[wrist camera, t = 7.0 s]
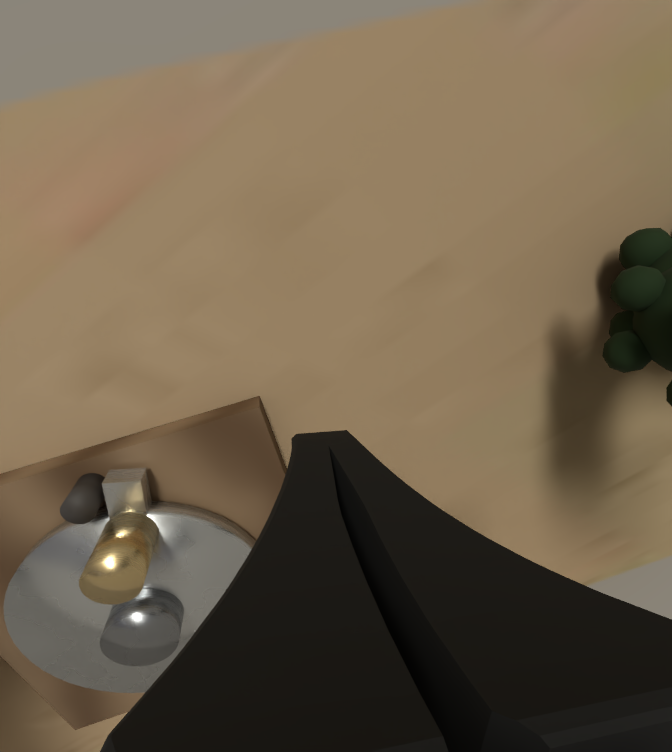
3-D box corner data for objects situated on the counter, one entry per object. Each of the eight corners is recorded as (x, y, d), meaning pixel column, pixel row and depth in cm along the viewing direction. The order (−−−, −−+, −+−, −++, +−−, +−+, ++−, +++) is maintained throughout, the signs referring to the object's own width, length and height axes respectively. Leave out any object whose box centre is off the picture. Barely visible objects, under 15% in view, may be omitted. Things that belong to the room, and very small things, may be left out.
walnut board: (82, 708, 26) (62, 765, 24) (-110, 507, 19) (-171, 557, 16) (342, 619, 28) (351, 665, 25) (259, 396, 20) (259, 426, 17)
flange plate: (274, 656, 26) (277, 726, 22) (48, 690, 23) (11, 774, 20) (269, 459, 20) (271, 512, 16) (-32, 479, 18) (-104, 546, 14)
